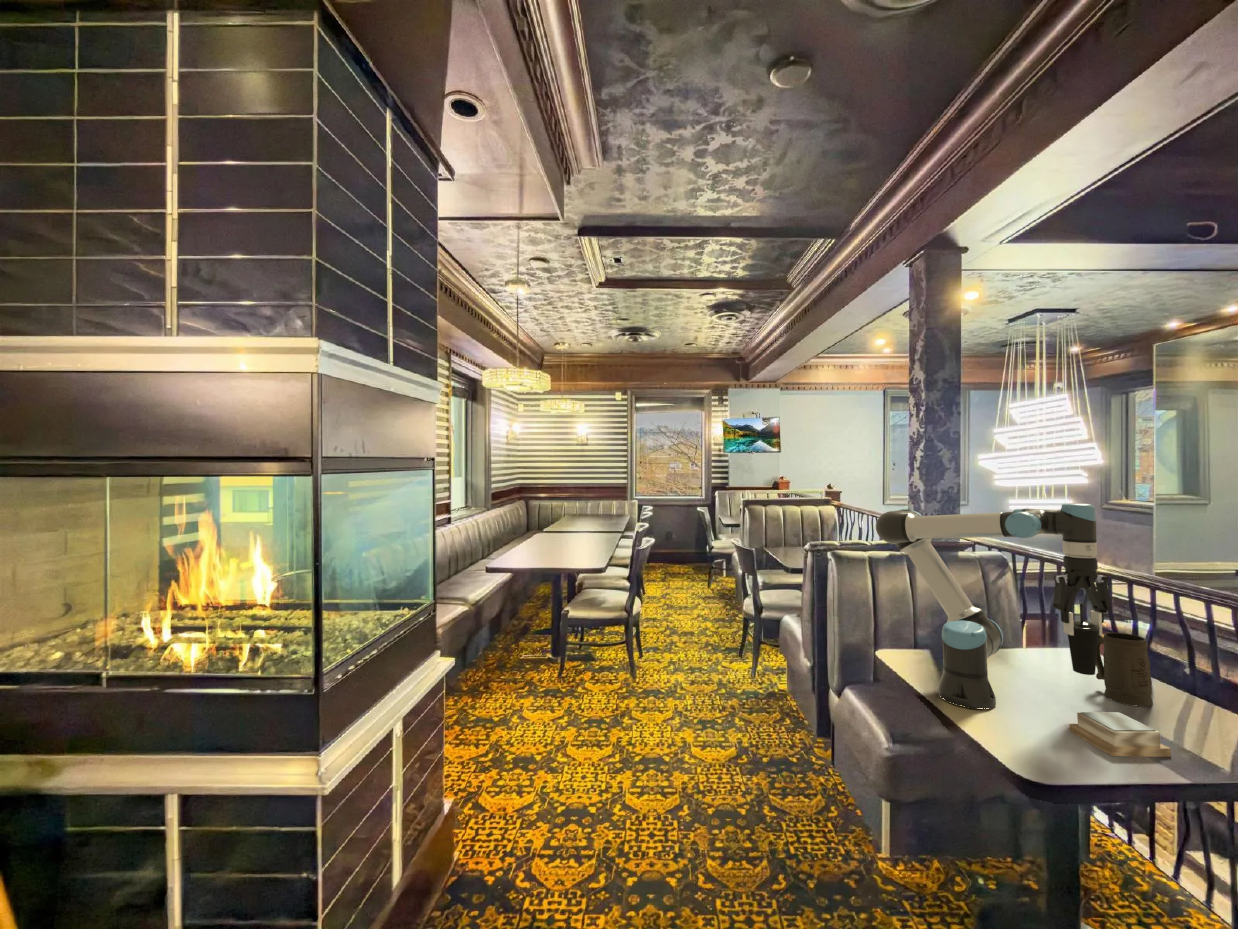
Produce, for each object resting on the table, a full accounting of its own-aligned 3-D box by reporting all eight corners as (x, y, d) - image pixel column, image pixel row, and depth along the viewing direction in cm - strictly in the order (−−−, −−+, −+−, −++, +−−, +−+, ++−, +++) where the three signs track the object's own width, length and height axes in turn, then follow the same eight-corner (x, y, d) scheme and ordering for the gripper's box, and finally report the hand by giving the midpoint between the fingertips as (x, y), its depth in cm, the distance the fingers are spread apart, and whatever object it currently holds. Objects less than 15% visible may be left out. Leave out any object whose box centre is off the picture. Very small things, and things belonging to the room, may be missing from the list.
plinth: (1112, 756, 128) (1111, 733, 128) (1069, 731, 141) (1068, 709, 141) (1171, 756, 128) (1169, 733, 128) (1122, 731, 140) (1121, 709, 141)
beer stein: (1165, 705, 155) (1155, 637, 157) (1141, 710, 152) (1132, 641, 154) (1105, 689, 170) (1097, 627, 172) (1082, 693, 167) (1074, 630, 169)
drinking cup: (1094, 679, 146) (1091, 608, 146) (1061, 670, 152) (1058, 602, 153) (1106, 673, 149) (1103, 604, 150) (1074, 665, 156) (1071, 599, 156)
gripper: (1054, 558, 148) (1057, 638, 148) (1127, 557, 147) (1130, 638, 147) (1034, 554, 156) (1037, 630, 155) (1104, 553, 155) (1107, 630, 154)
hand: (1082, 633), depth 151 cm, fingers closed on drinking cup, 7 cm apart
